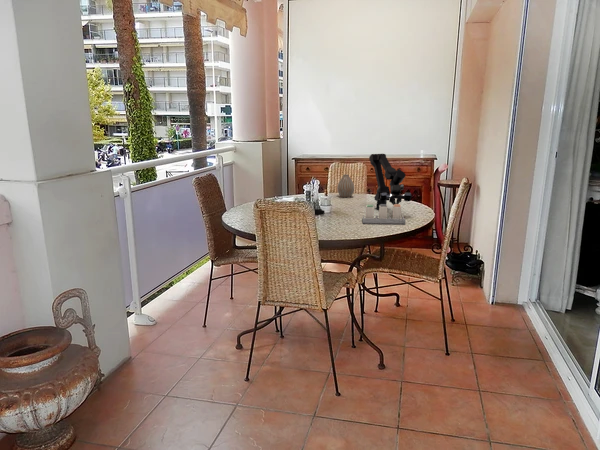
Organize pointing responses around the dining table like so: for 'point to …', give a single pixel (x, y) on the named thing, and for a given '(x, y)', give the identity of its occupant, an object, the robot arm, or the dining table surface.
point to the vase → (345, 186)
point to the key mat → (385, 223)
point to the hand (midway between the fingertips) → (396, 208)
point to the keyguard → (383, 220)
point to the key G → (369, 211)
